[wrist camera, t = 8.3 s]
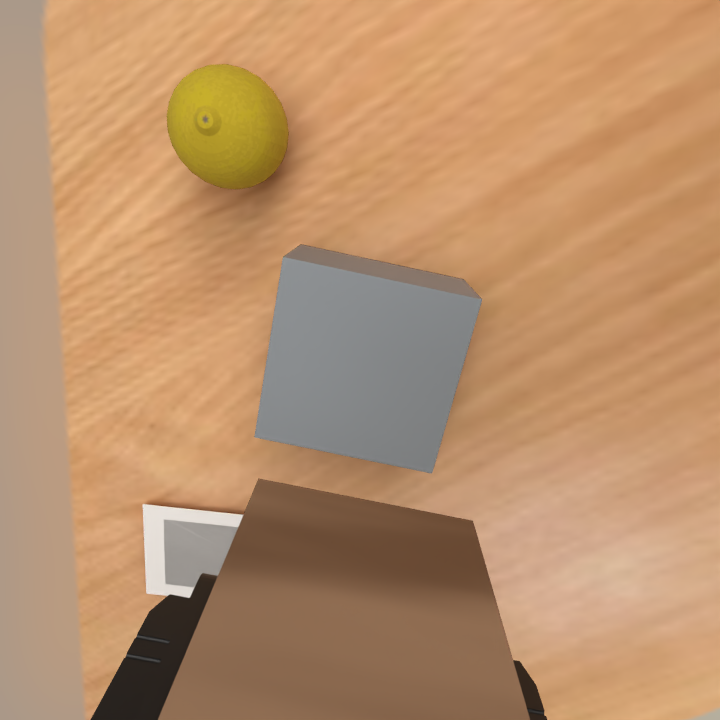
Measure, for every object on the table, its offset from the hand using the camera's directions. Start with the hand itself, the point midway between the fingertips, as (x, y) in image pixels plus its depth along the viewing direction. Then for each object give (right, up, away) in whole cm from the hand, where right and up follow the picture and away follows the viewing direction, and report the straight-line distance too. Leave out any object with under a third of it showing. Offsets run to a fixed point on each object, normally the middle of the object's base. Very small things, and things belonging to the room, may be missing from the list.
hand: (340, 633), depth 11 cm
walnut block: (0, 0, +1) cm, 1 cm away
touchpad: (-8, -8, +28) cm, 30 cm away
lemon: (-6, +18, +18) cm, 27 cm away
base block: (+1, +7, +22) cm, 23 cm away
